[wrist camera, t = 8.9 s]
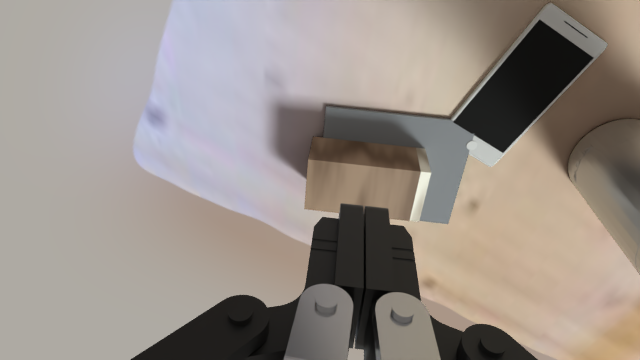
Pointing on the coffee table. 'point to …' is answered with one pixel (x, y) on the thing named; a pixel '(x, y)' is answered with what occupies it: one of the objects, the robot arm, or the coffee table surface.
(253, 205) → the coffee table surface
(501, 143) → the smartphone
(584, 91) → the coffee table surface
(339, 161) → the brown wooden block
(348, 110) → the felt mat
